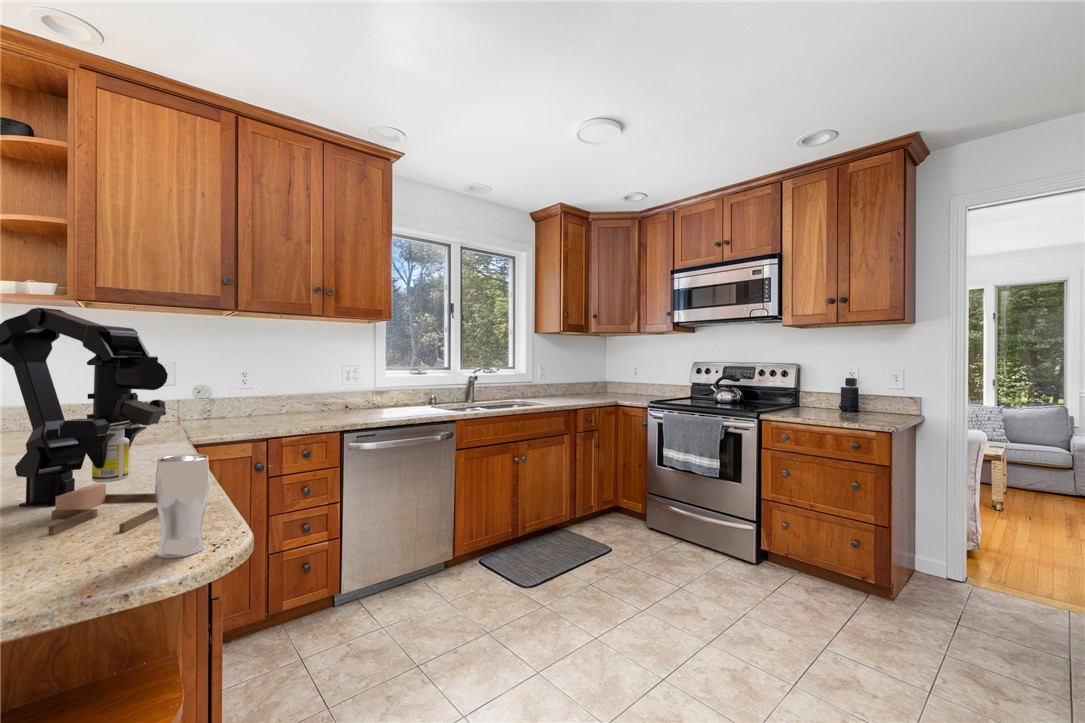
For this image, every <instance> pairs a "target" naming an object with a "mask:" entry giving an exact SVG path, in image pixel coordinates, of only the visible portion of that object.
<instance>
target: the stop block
mask: <svg viewBox="0 0 1085 723" xmlns="http://www.w3.org/2000/svg"><path fill="white" fill-rule="evenodd" d="M106 488H107V484H106V483H93V484H90V485H87V486H84V487H81V488H78V489H74V491H72V492H69V493H66V494H63V495H60V496H57V497H56V505H54V506H55V508H54V510H71V509H93V508H95V507H97V506H100V505H102V504H105V503H106V502H105V498H106V494H107V493H106V492H107V490H106Z"/></svg>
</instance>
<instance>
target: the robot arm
mask: <svg viewBox="0 0 1085 723" xmlns="http://www.w3.org/2000/svg"><path fill="white" fill-rule="evenodd" d="M61 335H63V336H65V337H68V338H71V339H73V340H77V341H79V342H81V344H82V347H83V348H85V349H87V350H88V351H90V352H92V354H95V355H94V356H93V357H91V358H90V359H89V360H88V361H87V362H86V365H87V366H94V372H93V374H94V375H93V393H87V400H92V402H93V404H92V405H93V407H92V408H93V409H92V413H90V414H87V415H86V418H75V419H73V418H72V419H67V420H65V416H64V413H63V410H62V406H61V404H60V400H59V396H58V394H57V391H56V388H55V384H54V381H53V378H52V375H51V372H50V368H49V365H48V362H47V359H48V358H49V356H50V354H51V352H52V351H53V343H54V342H55V341H57V340H58V339H59V338H60V336H61ZM0 358H1V359H2V360H4V361H5V362H6V363H8V364H9V365H11V366H12V368H13V370H14V374H15V377H16V379H17V383H18V386H19V389H20V392H21V396H22V400H23V403H24V405H25V409H26V412H27V415H28V420H29V421H30V425H31V428H32V431H31V433H30V436H29V437H28V439H27V441H26V443H25V447H26V453H25V454H24V455H23V456H22V457H21V458H20V459H19V461H18V462H17V463H16V465H15V466H14V470H15V474H16V476H17V477H19V478H26V479H25V480H26V484H25V501H23V502H21V503H18V507H45V506H46V507H51V506H52V507H53V506H55V505H56V497H57V496H60V495H63V494H66V493H69V492H72V491H75V490H76V488H75V486H76V484H75V483H76V482H75V480H76V478H75V477H74V475H73V474H74V471H78V470H82V468H83V466H84V461H85V459H86V456H87V457H88V458H89V460H90V461H91V463H93V464H94V466H95V467H96V468H103V467H104V463H105V458H106V451H107V445H108V441H109V440H110V439H111V438H112V437H114V436H115V435H116V434H109V429H112V428H121V429H124V430H125V431H124V432H125V436H124V438H128V439H129V450H130V449H131V446H132V444H133V442H134V440H135V438H136V436H137V435H138V434H139V433H141V432H142V431H144V430H146V429H147V428H148V426H151V425H157V424H159V422H160V419H161V417H163V416H165V415H167V411H166V410H167V408H166V401H164V400H162V399H152V400H151V401H150V402H149V401H141V400H139V395H138V393H137V392H132V390H139V391H142V390H144V391H157V390H159V389H161V388H162V387H163V386H164V385H165V384H166V382H167V381H168V376H169V374H168V372H167V369H166V368H165V366H164V365H163V364H162V363H160V362H159V357H158V356H155V355H152V356H151V355H150V352H149V350H147V348H146V346H145V344H144V342H143V341H142V339H141V337H140V336H139V333H138V331H137V330H136V329H134V328H132V327H123V326H114V325H106V324H105V325H104V324H103V325H102V324H100V323H97V322H94V321H91V320H87V319H85V318H83V317H82V318H81V317H79V316H77V315H73V314H70V313H67V312H66V311H64V310H62V309H56V308H46V307H35V308H34V307H33V308H31V309H30V310H28V311H27V312H25V313H23V314H20V315H17V316H13V317H10V318H8V319H5V320H4V321H2V322H1V323H0Z"/></svg>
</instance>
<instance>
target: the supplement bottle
mask: <svg viewBox="0 0 1085 723" xmlns="http://www.w3.org/2000/svg"><path fill="white" fill-rule="evenodd" d="M111 428H112V427H111ZM124 431H125V430H124V429H121V428H112V429H109V434H116V435H115V436H114V437H112V438H111V439H110V440H109V441H108V445H107V451H106V458H105V463H104V467H103V468H96V467H95V466H94V464H93V463H92V462H91V463H92V465H91V466H92V467H91V468H92V469H91V472H92V473H91V479H92V481H93V482H95V483H112V482H118V481H122V480H125V479H127V478H128V477H129V474H130V473H129V472H130V471H129V470H130V469H129V467H130V466H129V465H130V464H129V463H130V462H129V461H130V449H129V439H128V438H124V436H125V432H124Z"/></svg>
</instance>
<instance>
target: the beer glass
mask: <svg viewBox="0 0 1085 723" xmlns="http://www.w3.org/2000/svg"><path fill="white" fill-rule="evenodd" d="M154 483H155V484H154V493H155V497H156V501H155V503H156V507H157V510H158V519H159V525H160V539H159V544H158V548H157V552H156V554H157V555H156V556H157V557H158V558H160V559H166V560H167V559H170V560H171V559H179V558H185V557H189V556H192V555H195V554H197V553H200V552H201V551H202V550H204V549H205V543H204V542H205V541H204V538H203V530H202V529H203V528H202V527H203V526H202V525H203V519H204V515H205V514H204V513H205V511H206V510H205V509H206V504H207V501H208V495H209V490H210V466H209V455H207V454H199V453H197V454H195V453H193V454H191V453H190V454H179V455H178V454H177V455H171V456H165V457H161V458H158V459H157V466H156V474H155V482H154Z"/></svg>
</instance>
